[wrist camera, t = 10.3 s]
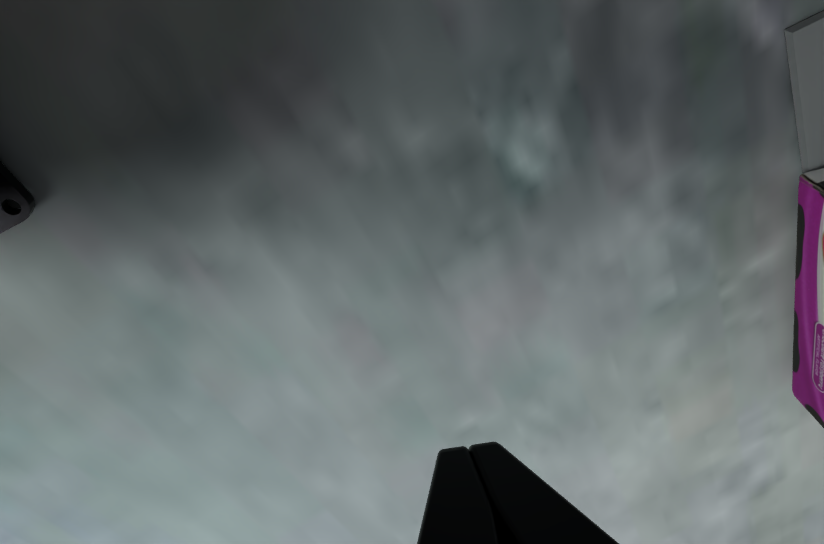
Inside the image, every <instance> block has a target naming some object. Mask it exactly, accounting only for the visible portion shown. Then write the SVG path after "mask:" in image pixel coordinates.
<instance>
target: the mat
mask: <svg viewBox="0 0 824 544" xmlns="http://www.w3.org/2000/svg"><path fill="white" fill-rule="evenodd" d="M784 31H785V39H786V47H787V54H788V62H789V70H790V78H791V86H792V94H793V101H794V109H795V117H796V125H797V133H798V140H799V148H800V156H801V164H802V172H803V174H804V173H806V172H809V171H813V170H817V169H820V168H823V167H824V11H822V12H820V13H818V14H816V15H814V16H812V17H810V18H808V19H806V20H804V21H802V22H800V23H798V24H795V25H793V26H791V27H789V28H787V29H785V30H784Z"/></svg>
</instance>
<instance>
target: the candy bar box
mask: <svg viewBox="0 0 824 544" xmlns="http://www.w3.org/2000/svg"><path fill="white" fill-rule="evenodd" d="M792 390H793V394H794V396H795V397H796V398H797V399H798V400H799V401H800V403H801V404H802V405H803V406H804V407H805V408H806V409H807V410H808V411H809V412H810V413H811V414H812V415H813V416H814V418H815V419H816V420H817V421H818V422H819V423H820V425H821V426H822V427H823V428H824V167H823V168H820V169H817V170H813V171H809V172H806V173H804V174H802V175H800V180H799V190H798V222H797V252H796V277H795V306H794V342H793V380H792Z"/></svg>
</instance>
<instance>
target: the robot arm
mask: <svg viewBox="0 0 824 544" xmlns="http://www.w3.org/2000/svg"><path fill="white" fill-rule="evenodd" d="M8 199H11V200H15V201H16V202H18V203H19V204H20V206H21V209H16V208H13V207H11V206H10V205H9V204H8V202H7V200H8ZM34 207H35V201H34V198H33V197H32V195H31V194H30V193H29V191H28V190H27V189H26V188H25V187H24V186H23V185H22V184H21V183H20V182H19V181H18V180H17V178H16V177H15V176H14V175H13V174H12V173H11V172H10V171H9V170H8V169H7V168H6V167H5V166H4V164H3V163H2V162H1V161H0V233H2V232H4V231H6V230H8V229H10V228H11V227H13V226H15V225H17V224H19V223H21V222H23V221H24V220H26V219H27V218H28V217H29V216H30V214H31V213H32V212H33V210H34ZM417 544H619V543H617V542H616V541H615V540H614V539H613V538H612V537H610V536H609V535H608V534H607V533H606V532H604V531H603V530H602V529H601V528H600V527H598V526H597V525H596V524H595V523H594V522H592V521H591V520H590V519H589V518H588V517H586V516H585V515H584V514H583V513H582V512H580V511H579V510H578V509H577V508H576V507H574V506H573V505H572V504H571V503H570V502H568V501H567V500H566V499H565V498H564V497H562V496H561V495H560V494H559V493H558V492H556V491H555V490H554V489H553V488H552V487H550V486H549V485H548V484H547V483H546V482H545V481H543V480H542V479H541V478H540V477H539V476H537V475H536V474H535V473H534V472H533V471H531V470H530V469H529V468H528V467H527V466H525V465H524V464H523V463H522V462H521V461H519V460H518V459H517V458H516V457H515V456H513V455H512V454H511V453H510V452H509V451H507V450H506V449H505V448H504V447H503V446H501V445H500V444H499V443H497V442H488V443H481V444H474V445H471V446H470V447H469V449H467V448H466V447H464V446H461V447H454V448H448V449H442V450H440V451H439V453H438V456H437V460H436V464H435V469H434V473H433V477H432V482H431V486H430V490H429V495H428V499H427V503H426V508H425V512H424V516H423V520H422V525H421V529H420V533H419V538H418V542H417Z"/></svg>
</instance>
